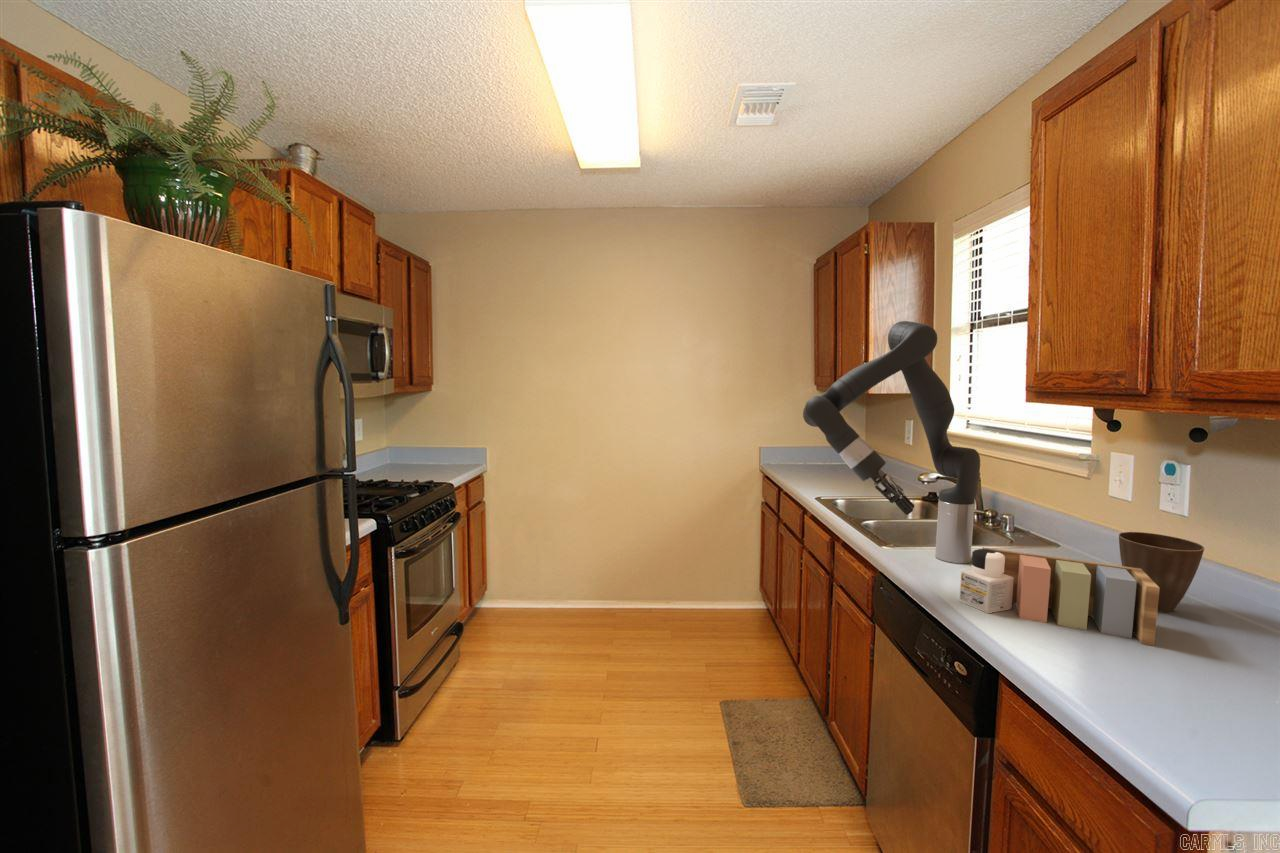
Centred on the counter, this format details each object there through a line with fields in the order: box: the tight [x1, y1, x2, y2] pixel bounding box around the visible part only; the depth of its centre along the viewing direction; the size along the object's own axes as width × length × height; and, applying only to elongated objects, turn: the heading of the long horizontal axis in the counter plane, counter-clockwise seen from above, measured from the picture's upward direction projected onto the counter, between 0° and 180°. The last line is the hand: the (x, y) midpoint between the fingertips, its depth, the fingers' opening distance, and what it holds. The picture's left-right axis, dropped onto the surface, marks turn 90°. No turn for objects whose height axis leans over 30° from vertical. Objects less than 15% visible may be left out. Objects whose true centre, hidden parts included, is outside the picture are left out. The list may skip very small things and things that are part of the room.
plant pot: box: [1118, 531, 1205, 613], centre depth 136 cm, size 15×15×16 cm
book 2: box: [1051, 560, 1091, 631], centre depth 128 cm, size 9×5×12 cm, turn 151°
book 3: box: [1092, 565, 1137, 639], centre depth 124 cm, size 9×5×12 cm, turn 151°
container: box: [959, 548, 1014, 614], centre depth 135 cm, size 8×8×13 cm
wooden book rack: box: [981, 547, 1160, 647], centre depth 128 cm, size 14×30×12 cm, turn 61°
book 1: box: [1015, 555, 1051, 623], centre depth 131 cm, size 9×5×12 cm, turn 151°
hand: (910, 510), depth 144 cm, fingers open, 4 cm apart
